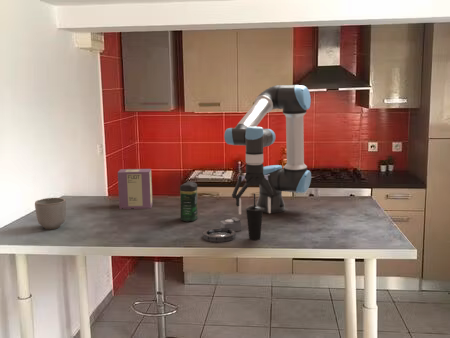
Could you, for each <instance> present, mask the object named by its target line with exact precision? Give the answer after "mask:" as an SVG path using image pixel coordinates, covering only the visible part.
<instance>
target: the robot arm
mask: <svg viewBox="0 0 450 338" xmlns="http://www.w3.org/2000/svg"><path fill="white" fill-rule="evenodd" d="M311 101H312V100H311V94H310V90H309V88H308V87H307V86H305V85H299V84H290V85H289V84H288V85H286V84H284V85H282V84H281V85H280V84H277V85H273V86H270V87H269V88H266V89H265V90H263V91H262V92H260V94H259V95H258V96H256V98H255V100H254V103H253V105H252V106H251V107H250V108H249V110H248V111H247V112H246V114H244V116H243V117H242V118H241V119H240V121H239V122H238V123H237V125H236V126H235V127H229V128H226V129H225V131H224V136H223V137H224V139H223V140H224V141H225V143H226V144H227V145H230V146H231V145H232V146H245V163H246V164H245V175H240V174H238V176H237V182H236V184H235V187H234V189H233V192H232V194H231V197H232V198H233V199H235V206H236V207H238V215H242V199H241V197H242V196H243V194H244V193H245V192H246V190H247V189H248V188H249V186H259V191H258V192H259V196H258V198H257V201H256V203H255V205H258V206H261V207H263V208H264V209H263V213H267V214H275V213H281V212H284V211H285V210H286V204H285V201H284V198H283V195H282V192H285V193H286V192H287V193H288V192H289V193H296V194H304V193H307V191H308V189H310V188H309V187H310V185H311V182H312V172H311V171H310V170H308V165H306V164H305V149H304V148H305V144H304V143H305V141H304V139H305V136H304V133H305V132H304V126H305V125H304V116H305V115H306V114H307V110H310V108H311V103H312V102H311ZM273 110H282V114H283V115H284V116H285V129H286V130H285V137H286V164H285V165H283V166H282V165H281V164H280V165H279V164H273V165H272V164H271V165H266V166H264V164H263V163H264V148H265V147H270V146H271V145H272V144H274V143H275V141H276V133H275V132H274V130H272V129H271V128H264V127H262V126H258V125H259V124H260V123H261V121H262V120H263V119H264V117H265V116H267V113H270V112H272V111H273ZM244 179H245V180H246V181H245V183H244V185H243V186H242V187H241V189H240V186H241V185H242V182H243V181H244ZM239 189H240V190H239ZM238 191H239V192H238Z"/></svg>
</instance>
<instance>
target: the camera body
mask: <svg viewBox="0 0 450 338" xmlns="http://www.w3.org/2000/svg"><path fill="white" fill-rule="evenodd" d="M219 228H229V229H232V230H234V231H235V232H238V231H242V222H241V219H240V218H237V217H235V216H233V217H230V219H229V218H228V219H225V220H220V221H219Z"/></svg>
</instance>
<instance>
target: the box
mask: <svg viewBox="0 0 450 338" xmlns="http://www.w3.org/2000/svg"><path fill="white" fill-rule="evenodd" d="M152 180H153V179H152V168H125V169H123V168H121V169H120V168H119V170H118V171H117V187H118V189H117V190H118V204H119V206H118V207H119V210H132V209H131V208H134V209H133V210H136V209H137V210H138V209H139V210H141V209H152V206H153V183H152ZM122 208H123V209H122Z"/></svg>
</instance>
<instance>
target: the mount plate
mask: <svg viewBox="0 0 450 338" xmlns="http://www.w3.org/2000/svg"><path fill="white" fill-rule="evenodd" d="M236 232H237V231H234V230H232V229H229V228H220V227H211V228H207V229H205V230H203V232H202V237H203V240H205V241H207V242H210V241H211V242H210V243H227V242H230V241H233V240H235V239H236V236H237V233H236Z"/></svg>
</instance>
